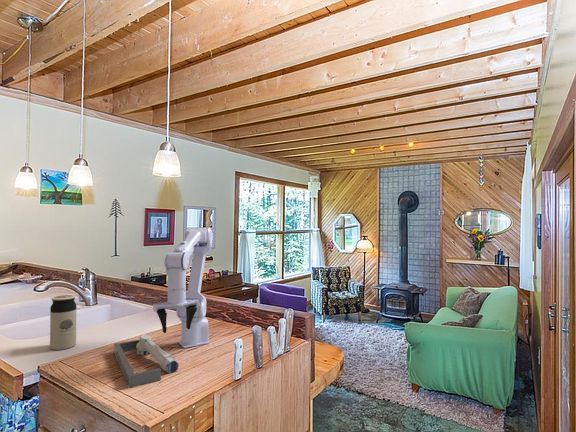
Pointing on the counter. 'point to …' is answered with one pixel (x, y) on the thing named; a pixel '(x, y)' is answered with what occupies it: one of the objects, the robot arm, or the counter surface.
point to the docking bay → (127, 370)
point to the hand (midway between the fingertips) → (176, 330)
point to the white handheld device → (156, 354)
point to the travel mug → (63, 322)
